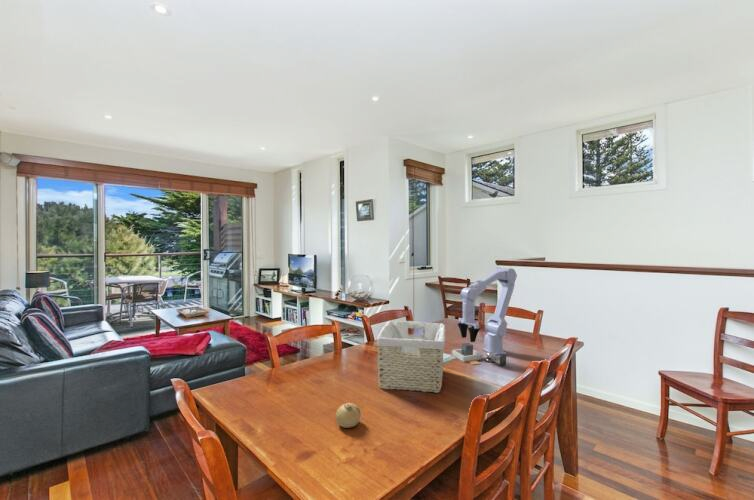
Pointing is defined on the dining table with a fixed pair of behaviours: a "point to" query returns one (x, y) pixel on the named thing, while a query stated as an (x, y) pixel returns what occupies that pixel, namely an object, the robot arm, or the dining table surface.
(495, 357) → the crank
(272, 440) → the dining table surface
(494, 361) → the crank foot
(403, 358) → the basket
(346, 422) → the onion
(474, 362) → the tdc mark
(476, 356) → the tray
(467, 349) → the stop block
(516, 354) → the dining table surface
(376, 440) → the dining table surface
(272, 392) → the dining table surface
